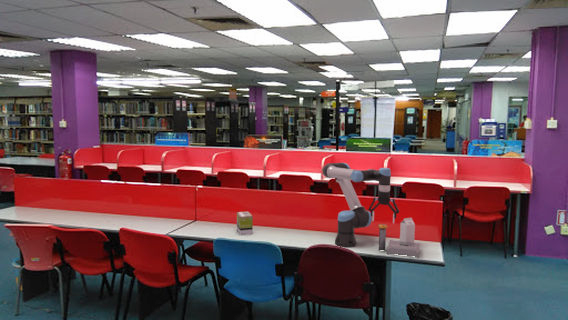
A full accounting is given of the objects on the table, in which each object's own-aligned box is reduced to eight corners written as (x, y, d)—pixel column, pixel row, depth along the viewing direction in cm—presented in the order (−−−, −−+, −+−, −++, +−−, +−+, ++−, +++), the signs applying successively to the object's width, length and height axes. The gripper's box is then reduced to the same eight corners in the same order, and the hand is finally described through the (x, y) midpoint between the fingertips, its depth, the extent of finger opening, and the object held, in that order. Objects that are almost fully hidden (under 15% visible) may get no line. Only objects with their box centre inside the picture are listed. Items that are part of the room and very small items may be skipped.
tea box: (236, 230, 310) (236, 211, 309) (248, 229, 313) (248, 211, 312) (240, 235, 296) (240, 216, 295) (252, 234, 299) (253, 215, 298)
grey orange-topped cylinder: (376, 251, 263) (377, 225, 261) (378, 248, 268) (378, 223, 267) (385, 252, 261) (386, 226, 259) (386, 249, 266) (387, 224, 265)
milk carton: (399, 242, 282) (400, 217, 280) (407, 242, 284) (408, 216, 282) (405, 245, 275) (407, 219, 273) (414, 244, 278) (415, 218, 276)
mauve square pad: (386, 254, 257) (387, 245, 256) (389, 245, 275) (390, 237, 275) (418, 258, 249) (419, 249, 249) (419, 249, 268) (420, 240, 268)
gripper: (364, 190, 262) (363, 221, 263) (403, 193, 253) (401, 225, 255) (366, 188, 269) (365, 218, 270) (404, 191, 260) (402, 222, 262)
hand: (383, 222), depth 263 cm, fingers open, 13 cm apart
